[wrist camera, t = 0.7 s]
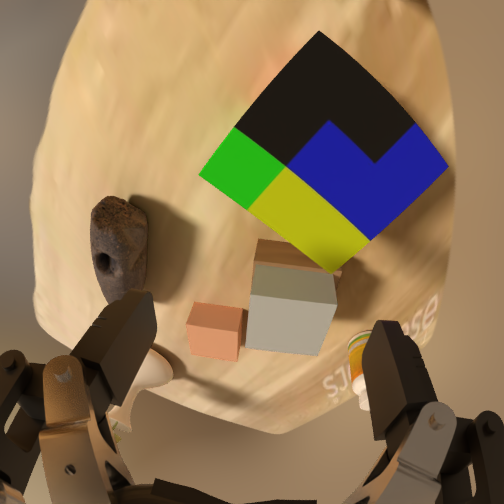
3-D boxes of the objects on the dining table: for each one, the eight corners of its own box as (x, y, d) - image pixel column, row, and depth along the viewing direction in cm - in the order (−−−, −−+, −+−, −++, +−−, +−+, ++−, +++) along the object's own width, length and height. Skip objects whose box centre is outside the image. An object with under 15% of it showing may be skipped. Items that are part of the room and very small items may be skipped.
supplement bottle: (339, 348, 36) (344, 410, 28) (362, 324, 33) (373, 390, 25) (369, 356, 37) (377, 415, 29) (392, 334, 34) (407, 395, 26)
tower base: (258, 237, 29) (253, 260, 25) (336, 247, 28) (342, 271, 25) (252, 296, 33) (248, 321, 30) (320, 304, 33) (322, 329, 29)
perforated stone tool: (153, 298, 35) (132, 338, 30) (118, 286, 35) (94, 323, 29) (160, 193, 27) (126, 227, 21) (116, 182, 27) (77, 212, 21)
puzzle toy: (393, 132, 21) (448, 166, 13) (318, 207, 26) (331, 274, 18) (306, 52, 18) (318, 30, 10) (232, 139, 23) (198, 174, 15)
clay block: (194, 300, 35) (185, 324, 31) (242, 307, 34) (237, 332, 31) (198, 331, 38) (191, 354, 35) (241, 338, 38) (237, 361, 34)
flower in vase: (151, 332, 39) (88, 484, 19) (188, 374, 45) (149, 507, 24) (98, 337, 43) (38, 455, 23) (134, 375, 49) (92, 484, 28)
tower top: (255, 264, 25) (250, 294, 22) (332, 274, 25) (337, 304, 22) (250, 317, 29) (245, 347, 26) (316, 325, 29) (317, 355, 26)
